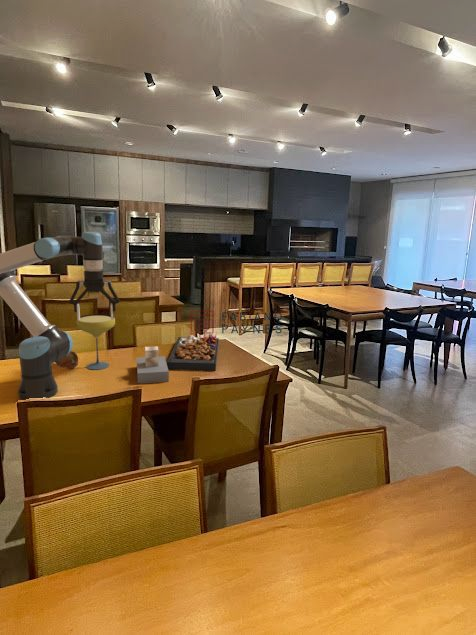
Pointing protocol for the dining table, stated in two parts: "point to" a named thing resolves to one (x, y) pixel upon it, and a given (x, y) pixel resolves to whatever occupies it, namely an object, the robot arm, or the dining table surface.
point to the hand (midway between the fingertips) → (95, 319)
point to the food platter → (194, 353)
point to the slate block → (152, 371)
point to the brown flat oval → (68, 360)
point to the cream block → (151, 356)
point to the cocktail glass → (96, 332)
